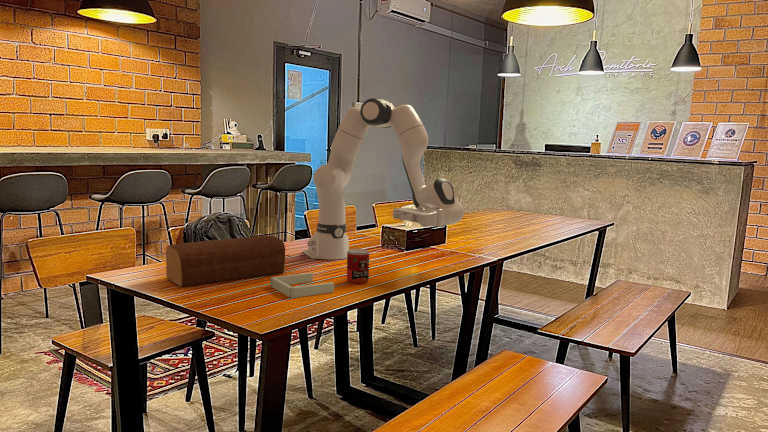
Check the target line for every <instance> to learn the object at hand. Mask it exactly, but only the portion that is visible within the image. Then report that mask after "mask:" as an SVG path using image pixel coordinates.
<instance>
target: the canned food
mask: <svg viewBox="0 0 768 432" xmlns="http://www.w3.org/2000/svg"><path fill="white" fill-rule="evenodd" d="M369 271H370V250H368V249H365V248H349V250H348V252H347V258H346V280H347V283H349V284H351V285H352V284H353V285H363V284H368V283H369V278H370V277H369V276H370V273H369Z"/></svg>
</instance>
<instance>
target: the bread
mask: <svg viewBox="0 0 768 432" xmlns="http://www.w3.org/2000/svg"><path fill="white" fill-rule="evenodd" d="M165 249H166V250H165V262H166V263H165V265H166V267H165V268H166V269H165V270H166V279H167V280H169V281H171V282H172V283H174V284H175V285H177V286H179V287H180V288H187V287H196V286H203V285H208V284H209V285H210V284H217V283H223V282H231V281H237V280H243V279H244V280H246V279H250V278H251V279H252V278H259V277H266V276H267V277H268V276H276V275H280V274H284V272H285V270H286V268H285V267H286V245H285V243H284V241H283V240H282V239H281V238H279V237H277V236H274V235H259V236H258V235H257V236H248V237H247V236H246V237H239V238H238V237H237V238H224V239H213V240H212V239H211V240H202V241H201V240H200V241H195V242H191V241H190V242H185V243H184V242H183V243H174V244H168V245H167V246H166V248H165Z"/></svg>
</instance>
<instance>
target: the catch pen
mask: <svg viewBox="0 0 768 432" xmlns="http://www.w3.org/2000/svg"><path fill="white" fill-rule="evenodd" d="M269 278H270V280H269V281H270V287H271V288H273V289H275V290H276V291H278V292H280V293H281V294H284V296H287V297H288V298H290V299H294V298H302V297H308V296H309V297H310V296H315V295H316V296H317V295H321V294H322V295H323V294H329V293H335V283H334V282H333V281H332V282H331V281H330V282H325V283H317V284H309V285H308V284H307V285H303V286H302V285H301V286H295V287H294V286H292V285H297V284H304V283H305V284H306V283H311V282H313V281H314V273H313V272H304V273H297V274H296V273H295V274H287V275H281V276H280V275H279V276H271V277H269Z"/></svg>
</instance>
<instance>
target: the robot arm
mask: <svg viewBox="0 0 768 432" xmlns="http://www.w3.org/2000/svg"><path fill="white" fill-rule="evenodd" d="M371 127H374V128H379V129H380V128H383V129H388V128H392V129H393V130H394V132H395V134H396V137H397V139H398V142H399V143H400V148H401V152H402V155H401V160H402V164H403V167H404V170H405V175H406V178H407V181H408V184H409V187H410V189H411V195H412V196H411V198H412V202H413V205H414V207H415V208H412V207H398V208H397V207H396V208H393V210H392V218H393V219H395V220H400V221H407V222H410V223H415V224H419V225H420V226H421V227H423V228H429V227H430V228H431V227H438V228H440V227H442V226H449V225H455V224H457V223H460V222H461V220H463V218H464V215H465V207H464V205H463V204H462V202H460V201H459V200H458V198H457V197H456V195H455V191H454V187H453V185H452V184H451V182H450V181H449V180H448V179H446V178H443V177H437V178H436V179H433V181H431V182H429V183H428V184H427V185H426V182H425V178H424V176H423V173H422V169H421V160H422V157H423V155H424V153H425V152H426V150H427V147H428V145H429V136H428V132H427V130H426V127H425V126H424V123H423V121H422V120H421V118H420V116H419V115H418V113H417V111H416V110H415V109H414V107H413V106H411V105H410V104H401V105H399V106H397V105H395V103H392V102H390V101H389V100H386V99H384V98H379V97H371V98H368V99H366V100H365V101H363V102H362V104H361V106H352V107H350V108H349V109H348V110H347V111H346V113H345V114H344V116H343V118H342V120H341V121H340V123H339V126H338V128H337V131H336V133H335V136H334V138H333V140H332V143H331V146H330V154H329V158H328V161H327V164H326V163H325V164H323V165H320V166H319V167H318V168H317V169H316V170H315V171H314V173H313V176H312V177H313V184H314V185H315V189H316V195H317V201H318V223H317V224H316V230H315V233H313V235H311V237H309V239H308V241H307V247H308V248H304V249H303V250H302V253H303V254H305V255H306V256H307V257H309V258H311V259H312V260H313V259H315V260H317V259H319V260H329V261H330V260H344V259H347V252H348V250H350V244H349V236H348V235H347V233H346V232H347V228H348V227H347V223H346V207H347V206H346V202H345V199H344V194H343V193H344V192H343V188H345V187H346V186H347V185H348V184H349V182H350V180H351V178H352V177H351V176H352V174H353V169H354V165H355V161H356V158H357V155H358V152H359V150H360V148H361V147H362V146H361V145H362V143H363V141H364V139H365V137H366V134H367V131H368V130H369V129H370V128H371Z"/></svg>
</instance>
